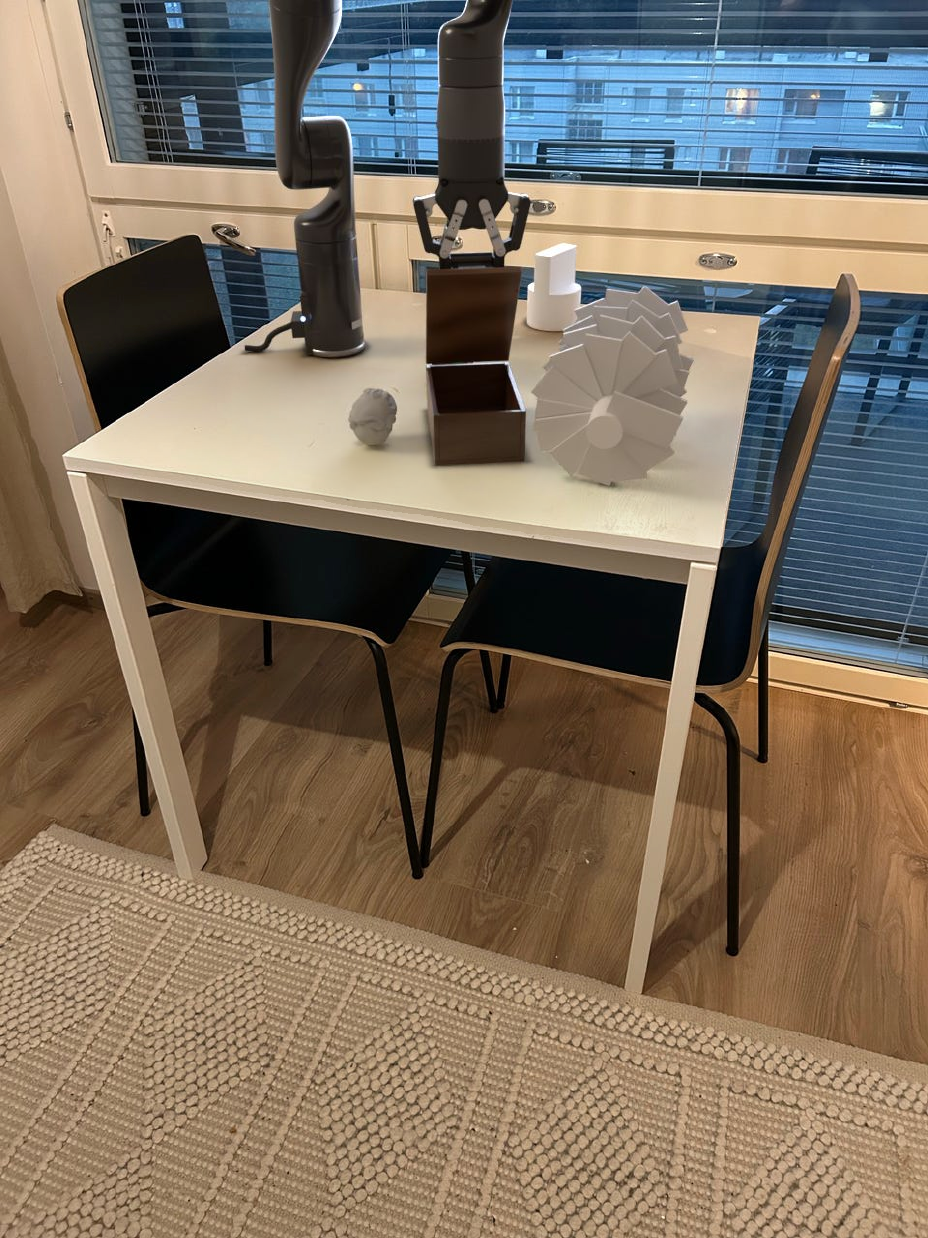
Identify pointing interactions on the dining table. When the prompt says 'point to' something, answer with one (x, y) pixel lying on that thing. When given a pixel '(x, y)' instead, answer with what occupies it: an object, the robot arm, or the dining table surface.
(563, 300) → the base with upright slab
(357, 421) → the grey rounded lumpy piece
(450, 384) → the chest
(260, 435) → the dining table surface
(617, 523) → the dining table surface
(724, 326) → the dining table surface
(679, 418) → the spiral staircase
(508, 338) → the chest lid
